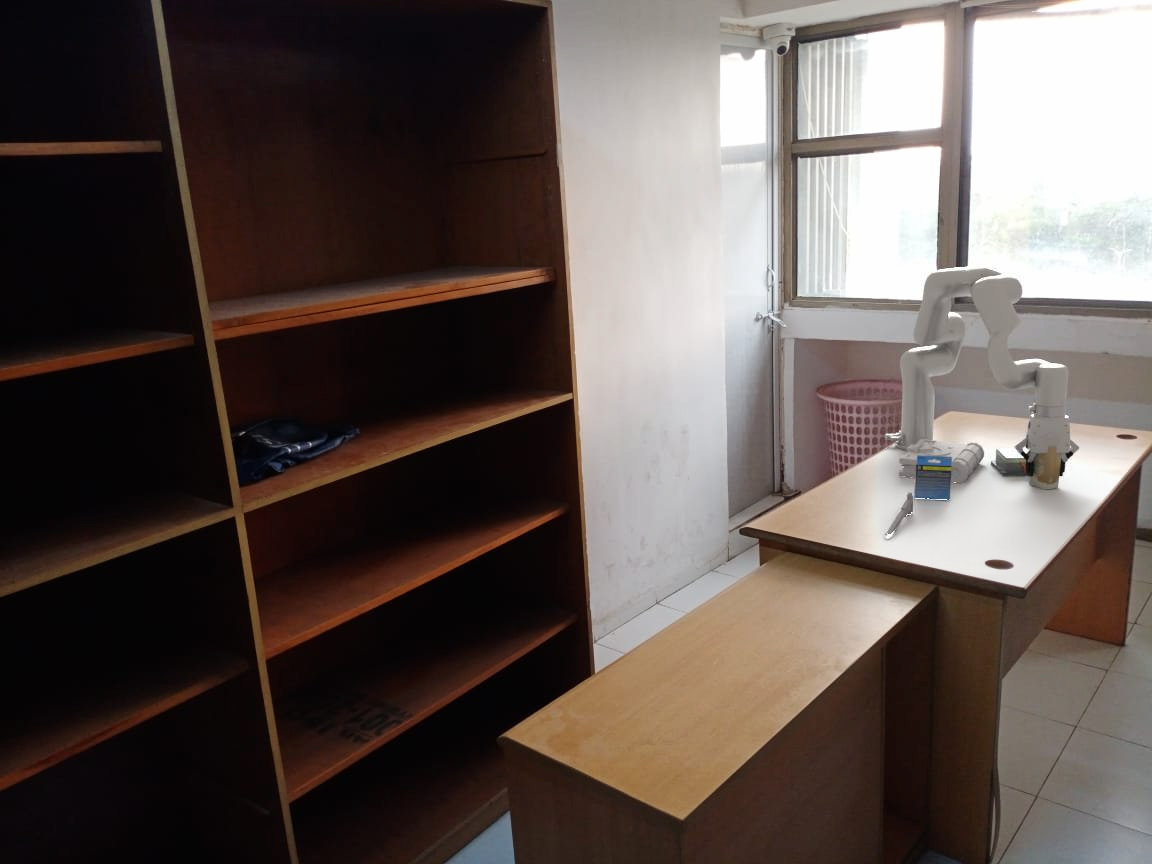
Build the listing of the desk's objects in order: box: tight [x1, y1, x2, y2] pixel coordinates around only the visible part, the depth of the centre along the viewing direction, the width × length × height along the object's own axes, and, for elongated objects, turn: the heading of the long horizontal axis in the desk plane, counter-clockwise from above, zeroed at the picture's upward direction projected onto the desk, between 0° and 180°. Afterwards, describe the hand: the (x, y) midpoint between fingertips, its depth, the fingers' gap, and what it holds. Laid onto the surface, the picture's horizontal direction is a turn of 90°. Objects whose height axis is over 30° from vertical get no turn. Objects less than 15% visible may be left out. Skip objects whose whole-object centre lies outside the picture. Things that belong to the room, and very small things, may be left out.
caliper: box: [886, 492, 914, 534], centre depth 227 cm, size 20×1×6 cm, turn 145°
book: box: [897, 439, 985, 484], centre depth 270 cm, size 19×28×8 cm
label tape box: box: [913, 455, 952, 500], centre depth 244 cm, size 9×4×12 cm, turn 72°
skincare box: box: [1028, 446, 1062, 490], centre depth 249 cm, size 6×4×12 cm
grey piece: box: [990, 447, 1029, 477], centre depth 265 cm, size 12×12×5 cm
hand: (1044, 474), depth 250 cm, fingers closed on skincare box, 6 cm apart
